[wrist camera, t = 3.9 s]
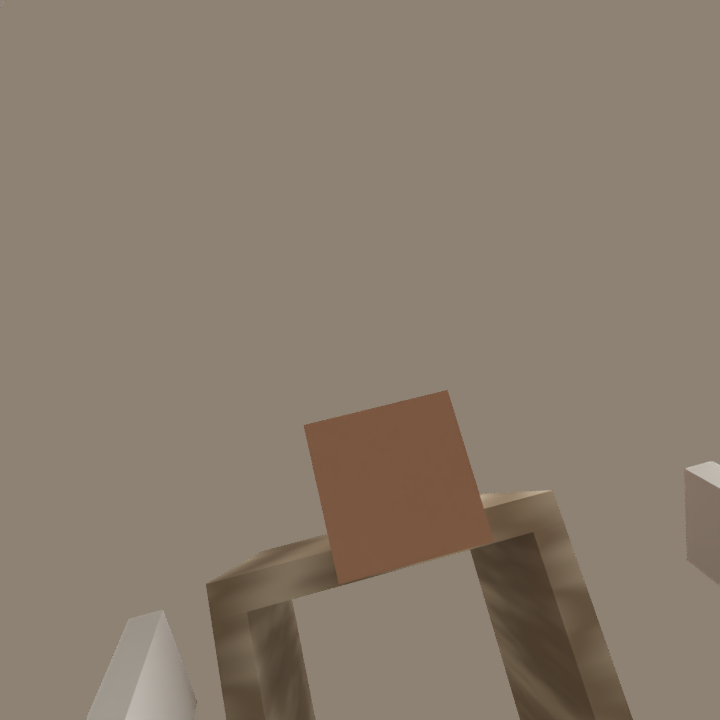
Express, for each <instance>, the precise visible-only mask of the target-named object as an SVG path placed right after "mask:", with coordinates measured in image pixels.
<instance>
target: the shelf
mask: <svg viewBox="0 0 720 720" xmlns="http://www.w3.org/2000/svg"><path fill="white" fill-rule="evenodd" d="M480 498H481V501H482V504H483V507H484V510H485V514H486V517H487V520H488V523H489V527H490V530H491V533H492V536H493V540H494V542H490V543H487V544H483V545H479V546H476V547H472V548H469V549H465V550H461V551H458V552H454V553H451V554H447V555H444V556H440V557H436V558H433V559H429V560H426V561H422V562H418V563H415V564H411V565H408V566H404V567H400V568H397V569H393V570H390V571H386V572H383V573H379V574H375V575H372V576H368V577H365V578H361V579H357V580H354V581H350V582H347V583H343V584H339V583H338V578H337V574H336V569H335V565H334V560H333V556H332V551H331V547H330V542H329V538H328V534H325V535H322V536H318V537H314V538H311V539H307V540H303V541H300V542H296V543H292V544H288V545H284V546H281V547H277V548H273V549H270V550H266V551H262V552H260V553H258V554H256V555H255V556H253V557H251V558H249V559H248V560H246V561H244V562H243V563H241V564H239V565H238V566H236V567H234V568H233V569H231V570H229V571H227V572H226V573H224V574H223V575H221V576H219V577H217V578H216V579H214V580H212V581H211V582H209V583H207V584H206V588H207V594H208V600H209V607H210V614H211V621H212V627H213V634H214V640H215V647H216V654H217V660H218V667H219V674H220V680H221V687H222V694H223V700H224V706H225V713H226V720H315V715H314V710H313V705H312V700H311V695H310V690H309V684H308V680H307V674H306V669H305V664H304V659H303V654H302V649H301V643H300V638H299V633H298V628H297V623H296V617H295V613H294V607H293V602H292V599H295V598H299V597H302V596H306V595H310V594H313V593H317V592H320V591H324V590H327V589H331V588H335V587H338V586H342V585H345V584H349V583H352V582H356V581H359V580H363V579H367V578H370V577H374V576H377V575H381V574H385V573H388V572H392V571H396V570H399V569H402V568H406V567H410V566H413V565H417V564H420V563H424V562H427V561H431V560H435V559H439V558H442V557H446V556H449V555H453V554H456V553H460V552H463V551H467V550H470V551H471V554H472V557H473V561H474V564H475V568H476V571H477V575H478V578H479V581H480V585H481V588H482V591H483V595H484V598H485V602H486V605H487V608H488V612H489V615H490V619H491V622H492V625H493V629H494V632H495V636H496V639H497V642H498V646H499V649H500V653H501V656H502V659H503V662H504V666H505V670H506V673H507V676H508V679H509V683H510V687H511V690H512V693H513V697H514V700H515V704H516V707H517V710H518V714H519V717H520V720H633V719H632V716H631V713H630V710H629V708H628V705H627V702H626V699H625V696H624V693H623V690H622V687H621V684H620V682H619V679H618V676H617V673H616V670H615V667H614V665H613V662H612V659H611V656H610V653H609V650H608V648H607V644H606V641H605V639H604V636H603V633H602V630H601V627H600V624H599V621H598V619H597V616H596V613H595V610H594V607H593V604H592V602H591V599H590V596H589V593H588V590H587V587H586V584H585V581H584V579H583V576H582V573H581V570H580V567H579V564H578V561H577V558H576V556H575V553H574V550H573V548H572V544H571V541H570V539H569V536H568V533H567V530H566V527H565V524H564V521H563V518H562V516H561V513H560V510H559V507H558V504H557V501H556V498H555V496H554V493H553V491H552V490H547V491H529V492H513V493H494V494H480Z"/></svg>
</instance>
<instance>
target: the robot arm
mask: <svg viewBox="0 0 720 720" xmlns="http://www.w3.org/2000/svg"><path fill="white" fill-rule="evenodd" d="M5 1H6V0H0V7H1V6H2V5H3V4H4V2H5ZM684 473H685V508H686V539H687V540H686V542H687V560H688V561H689V562H690V563H692V564H693V565H694V566H695V567H697V568H698V569H699V570H700V571H702V572H703V573H704V574H706V575H707V576H708V577H709V578H711V579H712V580H713V581H714V582H716V583H717V584H718V585H719V586H720V465H718V464H717V463H715V462H713V461H710V462H706V463H702V464H699V465H695V466H691V467H688V468H685V469H684ZM196 704H197V701H196V698H195V695H194V692H193V690H192V687H191V684H190V682H189V679H188V676H187V674H186V671H185V668H184V665H183V663H182V660H181V657H180V655H179V652H178V649H177V647H176V644H175V641H174V638H173V636H172V633H171V631H170V628H169V625H168V622H167V620H166V617H165V615H164V611H163V610H159V611H156V612H152V613H148V614H145V615H141V616H137V617H133V618H130V619H129V620H128V622H127V624H126V627H125V629H124V631H123V634H122V636H121V638H120V641H119V643H118V646H117V648H116V650H115V653H114V655H113V657H112V660H111V662H110V664H109V667H108V669H107V671H106V674H105V676H104V679H103V681H102V683H101V685H100V688H99V690H98V692H97V695H96V697H95V700H94V702H93V704H92V707H91V709H90V711H89V713H88V716H87V718H86V720H193V719H194V714H195V709H196Z"/></svg>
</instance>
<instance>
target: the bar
mask: <svg viewBox="0 0 720 720" xmlns="http://www.w3.org/2000/svg"><path fill="white" fill-rule="evenodd" d="M304 429H305V433H306V438H307V442H308V447H309V451H310V456H311V460H312V465H313V470H314V474H315V479H316V483H317V488H318V492H319V496H320V501H321V506H322V510H323V514H324V519H325V524H326V528H327V533H328V538H329V542H330V547H331V551H332V556H333V560H334V565H335V569H336V574H337V578H338V583H339V584H343V583H347V582H350V581H354V580H357V579H361V578H365V577H368V576H372V575H375V574H379V573H383V572H386V571H390V570H393V569H397V568H400V567H404V566H408V565H411V564H415V563H418V562H422V561H426V560H429V559H433V558H436V557H440V556H444V555H447V554H451V553H454V552H458V551H461V550H465V549H469V548H472V547H476V546H479V545H483V544H487V543H490V542H494V540H493V536H492V533H491V530H490V527H489V523H488V520H487V517H486V514H485V510H484V507H483V504H482V501H481V498H480V494H479V491H478V488H477V485H476V481H475V478H474V475H473V472H472V469H471V465H470V462H469V459H468V456H467V452H466V449H465V446H464V442H463V439H462V436H461V433H460V430H459V426H458V423H457V420H456V417H455V413H454V410H453V407H452V403H451V401H450V397H449V394H448V391H447V390H446V391H442V392H438V393H434V394H430V395H425V396H421V397H417V398H413V399H409V400H405V401H401V402H397V403H393V404H389V405H385V406H380V407H377V408H372V409H368V410H364V411H361V412H356V413H352V414H348V415H344V416H340V417H336V418H331V419H327V420H323V421H319V422H315V423H311V424H307V425H304Z"/></svg>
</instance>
